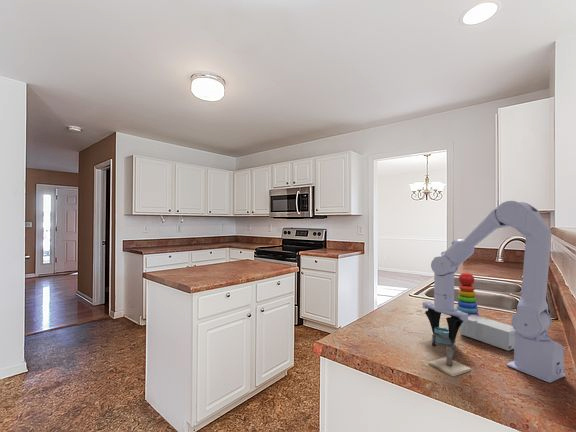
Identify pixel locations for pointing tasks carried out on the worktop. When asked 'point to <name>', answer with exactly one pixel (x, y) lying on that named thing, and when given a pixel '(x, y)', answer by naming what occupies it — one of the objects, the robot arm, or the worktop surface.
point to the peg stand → (449, 364)
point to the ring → (444, 332)
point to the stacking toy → (467, 295)
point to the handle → (443, 339)
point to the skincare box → (489, 332)
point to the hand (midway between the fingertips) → (443, 336)
